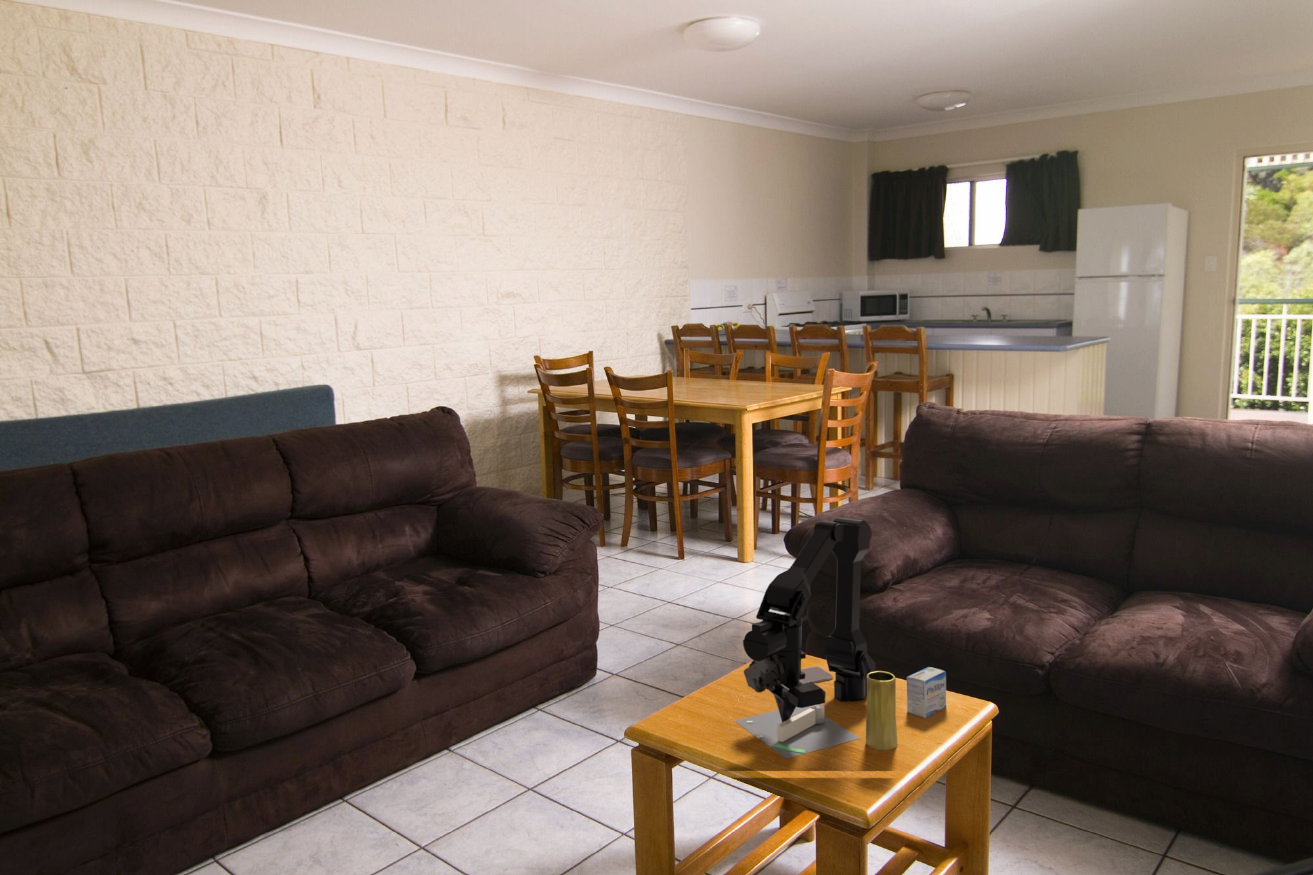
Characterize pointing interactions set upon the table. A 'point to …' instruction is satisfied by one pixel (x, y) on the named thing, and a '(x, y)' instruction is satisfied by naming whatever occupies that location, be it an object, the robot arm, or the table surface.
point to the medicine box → (926, 692)
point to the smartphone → (815, 675)
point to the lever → (801, 722)
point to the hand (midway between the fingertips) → (785, 723)
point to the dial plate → (801, 742)
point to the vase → (881, 711)
